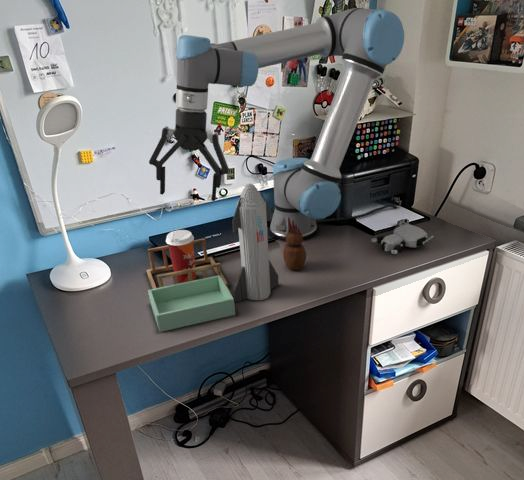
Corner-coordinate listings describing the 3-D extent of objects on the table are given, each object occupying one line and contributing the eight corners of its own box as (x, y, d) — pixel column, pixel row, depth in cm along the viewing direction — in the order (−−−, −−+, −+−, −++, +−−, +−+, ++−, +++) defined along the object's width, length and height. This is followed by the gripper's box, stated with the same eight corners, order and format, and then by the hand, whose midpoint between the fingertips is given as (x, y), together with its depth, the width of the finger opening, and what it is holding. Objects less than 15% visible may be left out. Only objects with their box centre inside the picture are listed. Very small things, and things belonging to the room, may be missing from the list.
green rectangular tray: (221, 290, 145) (219, 274, 142) (235, 314, 135) (233, 298, 132) (151, 305, 141) (147, 289, 138) (159, 332, 130) (156, 315, 127)
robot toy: (394, 263, 154) (434, 247, 158) (395, 249, 151) (435, 233, 156) (368, 248, 163) (407, 233, 167) (368, 234, 160) (407, 219, 164)
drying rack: (212, 260, 160) (209, 237, 156) (228, 287, 146) (225, 262, 142) (147, 273, 156) (142, 249, 151) (157, 302, 142) (152, 277, 137)
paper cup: (195, 287, 147) (188, 241, 139) (169, 286, 149) (160, 240, 140) (203, 274, 153) (197, 229, 145) (178, 273, 155) (170, 228, 146)
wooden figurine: (280, 265, 155) (278, 217, 146) (297, 260, 157) (296, 212, 148) (292, 275, 150) (290, 225, 141) (309, 269, 152) (309, 220, 143)
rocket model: (271, 280, 148) (266, 173, 130) (286, 290, 143) (282, 181, 125) (228, 296, 142) (216, 187, 124) (242, 307, 137) (232, 195, 119)
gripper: (136, 104, 124) (137, 194, 136) (241, 118, 125) (233, 206, 136) (143, 100, 131) (144, 186, 142) (243, 113, 131) (236, 198, 143)
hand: (188, 196), depth 139 cm, fingers open, 13 cm apart
